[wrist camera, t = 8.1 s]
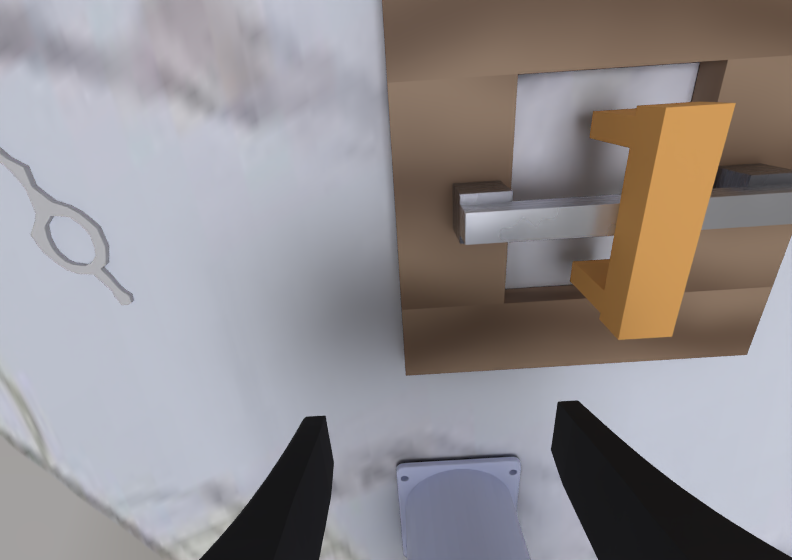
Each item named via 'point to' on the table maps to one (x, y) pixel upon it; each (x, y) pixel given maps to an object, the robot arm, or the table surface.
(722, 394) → the table surface
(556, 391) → the table surface
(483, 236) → the hook bar
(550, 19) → the brown wooden frame
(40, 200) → the scissors
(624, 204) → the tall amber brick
